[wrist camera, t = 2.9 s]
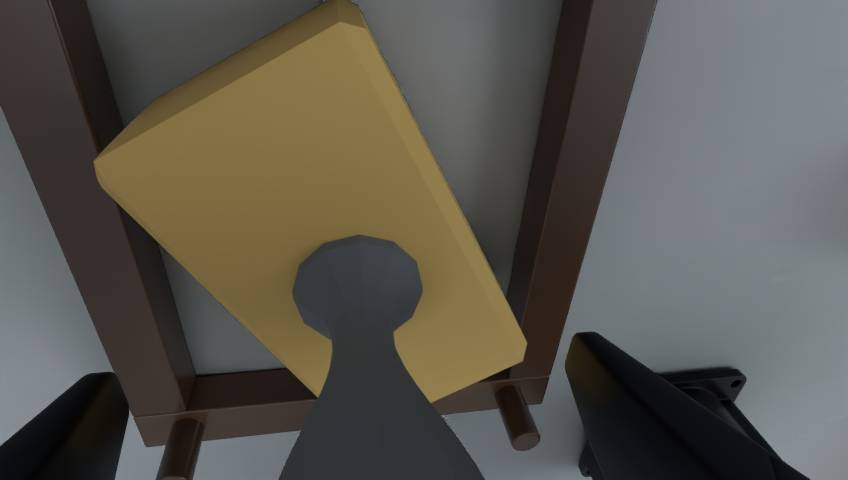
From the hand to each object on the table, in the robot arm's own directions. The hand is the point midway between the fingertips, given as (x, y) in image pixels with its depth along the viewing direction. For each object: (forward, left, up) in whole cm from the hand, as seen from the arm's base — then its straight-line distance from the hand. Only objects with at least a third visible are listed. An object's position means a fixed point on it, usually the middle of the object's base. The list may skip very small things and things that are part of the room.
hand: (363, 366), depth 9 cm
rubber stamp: (0, 0, -6) cm, 6 cm away
